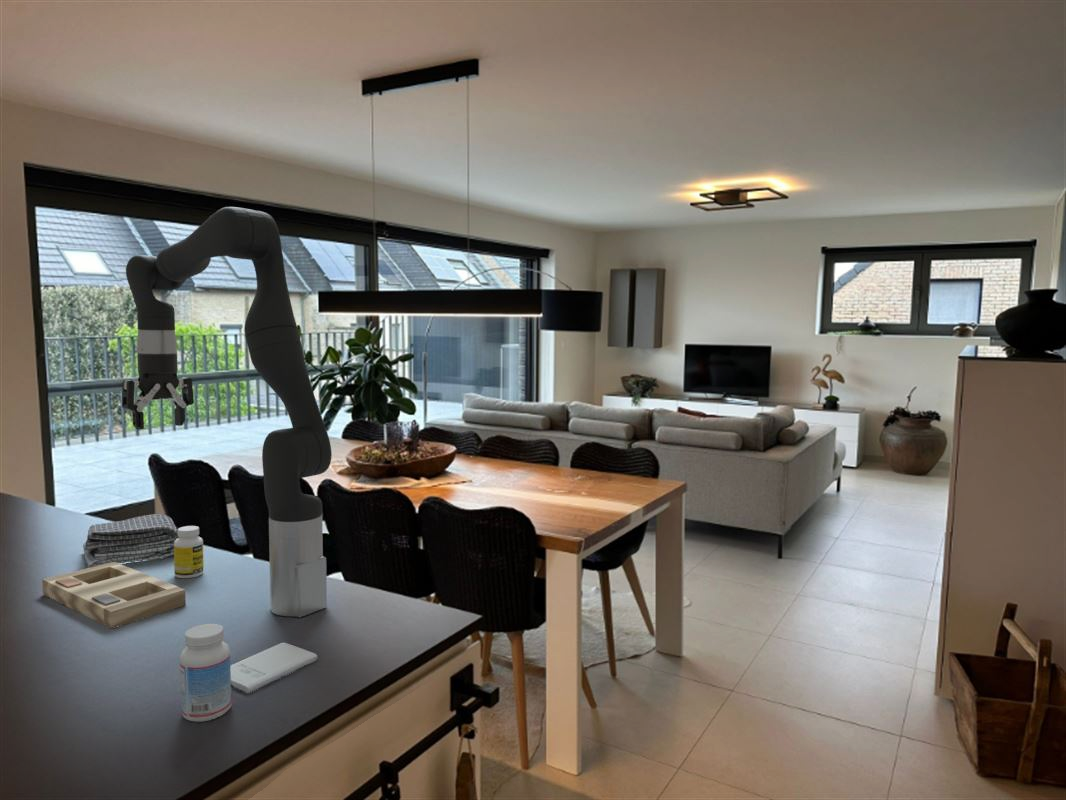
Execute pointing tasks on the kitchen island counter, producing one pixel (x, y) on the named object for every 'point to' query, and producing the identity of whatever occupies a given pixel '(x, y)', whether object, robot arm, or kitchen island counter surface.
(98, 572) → the socket holder
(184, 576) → the supplement bottle
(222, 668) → the pill bottle
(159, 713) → the kitchen island counter surface
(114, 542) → the towel
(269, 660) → the external hard drive
